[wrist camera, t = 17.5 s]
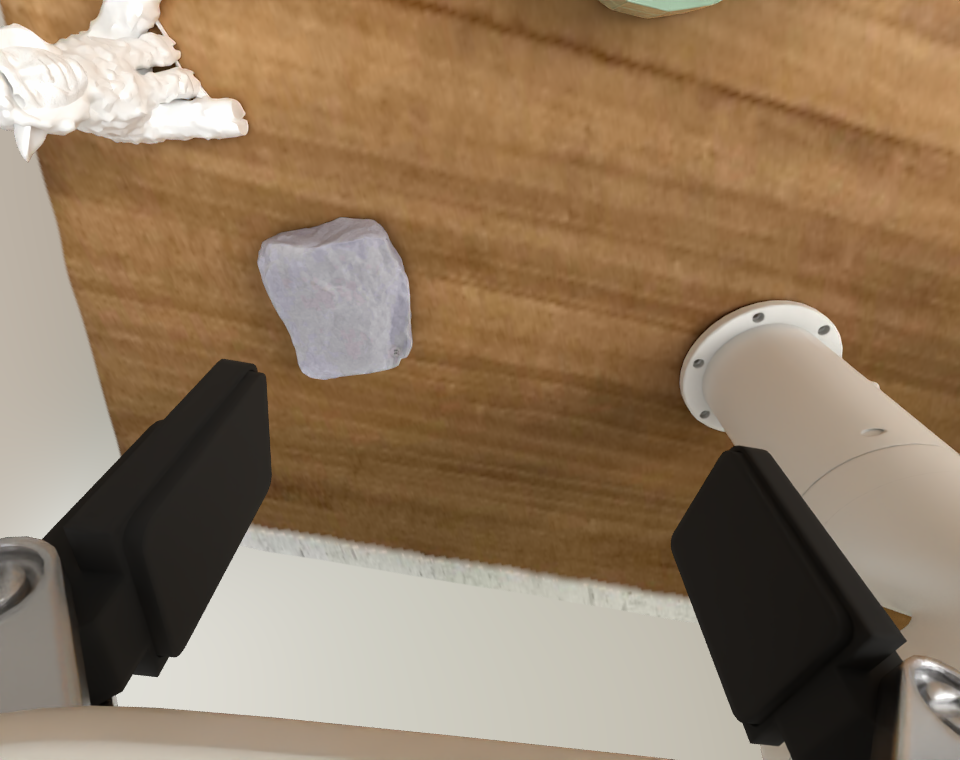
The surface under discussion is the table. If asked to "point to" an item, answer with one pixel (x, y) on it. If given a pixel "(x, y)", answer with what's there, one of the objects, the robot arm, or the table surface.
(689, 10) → the bowl
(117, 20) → the white creature statuette
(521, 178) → the table surface
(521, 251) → the table surface
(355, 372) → the stone block
